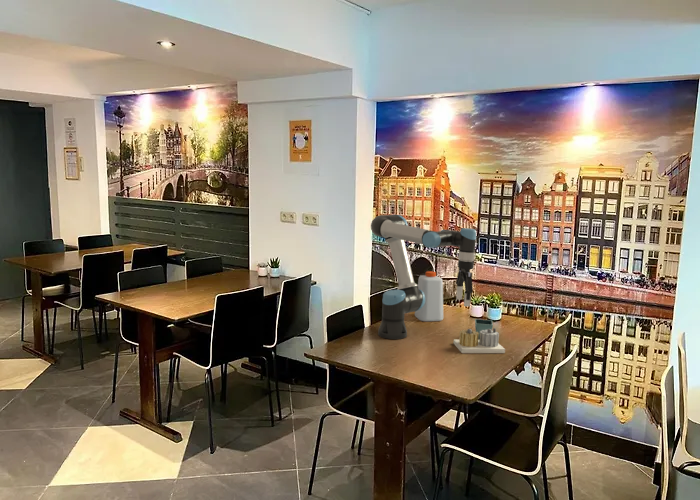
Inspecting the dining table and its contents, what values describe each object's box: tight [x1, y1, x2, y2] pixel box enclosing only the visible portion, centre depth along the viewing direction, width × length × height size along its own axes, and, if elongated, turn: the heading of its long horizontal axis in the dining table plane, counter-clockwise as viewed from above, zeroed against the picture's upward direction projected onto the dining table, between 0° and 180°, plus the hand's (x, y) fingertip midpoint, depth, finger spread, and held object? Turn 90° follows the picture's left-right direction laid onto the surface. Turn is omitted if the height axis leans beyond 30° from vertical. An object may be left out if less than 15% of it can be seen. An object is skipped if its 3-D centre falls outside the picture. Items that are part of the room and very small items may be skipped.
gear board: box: [453, 327, 506, 354], centre depth 257 cm, size 21×15×10 cm
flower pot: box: [474, 318, 494, 340], centre depth 273 cm, size 9×9×9 cm
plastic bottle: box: [414, 270, 444, 322], centre depth 309 cm, size 15×15×28 cm
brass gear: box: [458, 329, 479, 347], centre depth 256 cm, size 9×9×6 cm
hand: (462, 302), depth 257 cm, fingers open, 13 cm apart
